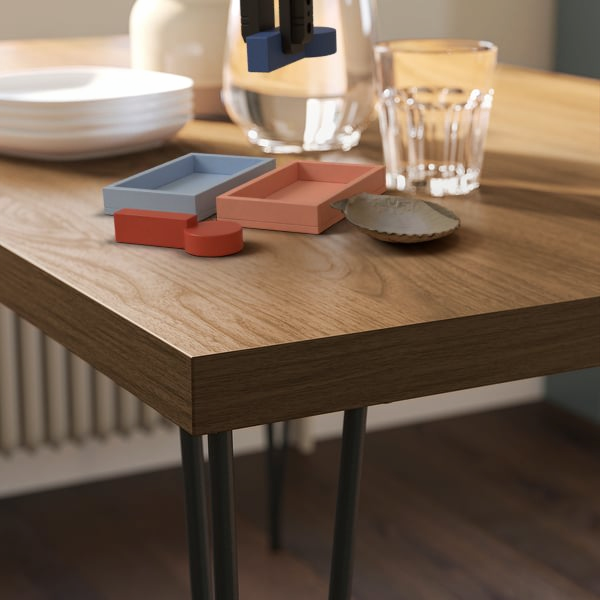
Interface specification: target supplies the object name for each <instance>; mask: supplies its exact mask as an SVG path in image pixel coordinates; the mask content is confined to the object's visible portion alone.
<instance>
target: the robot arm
mask: <svg viewBox="0 0 600 600" xmlns="http://www.w3.org/2000/svg"><path fill="white" fill-rule="evenodd" d="M275 12H276V11H275V0H239V16H240V34H241V35H240V36H241V37H242V40H243V44H246V37H248V36H251V35H254V34H257V33H260V32H263V31H266V30H269V29H272V28H275V27H276V15H275V14H276V13H275ZM278 22H279V23H278V26H279V30H280V33H281V47H282V52H283V54H293V55H294V54H298V53H301V52H303V51H304V50H305V46H306V43H308V42H311V40H312V37H313V34H314V26H315V25H314V0H278Z"/></svg>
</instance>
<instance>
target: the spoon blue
mask: <svg viewBox="0 0 600 600" xmlns="http://www.w3.org/2000/svg"><path fill="white" fill-rule="evenodd" d="M337 41H338V40H337V29H336V28H334V27H330V26H317V25H316V26H315V25H314V34H313V37H312V40H311V42H308V43H306V46H305V50H304V51H303V52H301V53H298V54H294V55H293V54H283V52H282V47H281V33H280V30H279V25H278V26H275V28H272V29H269V30H266V31H263V32H260V33H257V34H254V35H251V36H248V37H246V43H245V44H246V45H245V46H246V63H247V72H248V73H262V74H264V73H266V74H270V73H272V72H275V71H277V70H278V69H281V68H284V67H287V66H289V65H291V64H294V63H296V62H299V61H301V60H304V59H311V58H322V57H329V56H331V55H335V54H337V52H338V43H337Z"/></svg>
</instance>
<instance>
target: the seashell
mask: <svg viewBox="0 0 600 600" xmlns="http://www.w3.org/2000/svg"><path fill="white" fill-rule="evenodd" d="M329 205H330V207H332V208H333V209H337V210H341V212H342V213H344V215H345V217H344V218H345V220H346V222H348V224H349V225H350V226H352V227H353V228H354V229H356V230H357V231H359V232H360V233H362V234H364V235H366V236H368V237H371V238H373V239H376V240H379V241H383V242H390V243H395V244H403V245H405V244H415V243H423V242H429V241H432V240H437V239H440V238H444V237H446V236H448V235H451V234H453V233H455V232H456V231H459V228H460V227H461V219H460V217H459V216H458V215H457V214H456V213H455V212H453V210H450V209H449V208H447V207H445V206H442V205H441V204H439V203H437V202H433V201H428V200H424V199H421V198H417V197H411V196H410V197H409V196H400V195H388V194H380V195H376V194H367V193H365V192H362V193H358V194H355V195H353V196H351V197H349V198H345V199H341V200H338V201H336V202H333V203H330V204H329Z"/></svg>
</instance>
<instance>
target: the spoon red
mask: <svg viewBox="0 0 600 600" xmlns="http://www.w3.org/2000/svg"><path fill="white" fill-rule="evenodd" d="M113 226H114V237H115V239H114V240H115V243H117V242H118V243H125V244H126V243H127V244H135V245H137V244H138V245H146V246H155V247H164V248H172V249H173V248H174V249H184V251H185V252H186V253H187V254H189V255H193V256H195V257H197V256H198V257H206V258H209V257H210V258H212V257H213V258H214V257H223V256H229V255H233V254H236V253H238V252H241V251H242V250H243V249H244V229H243V228H244V227H242V226H241V225H240V224H238V223H235V222H230V221H217V220H205V221H199V222H198V221H197V215H196V214H185V213H174V212H163V211H152V210H140V209H129V208H124V209H121V210H119V211H117V212H114V215H113Z"/></svg>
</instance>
